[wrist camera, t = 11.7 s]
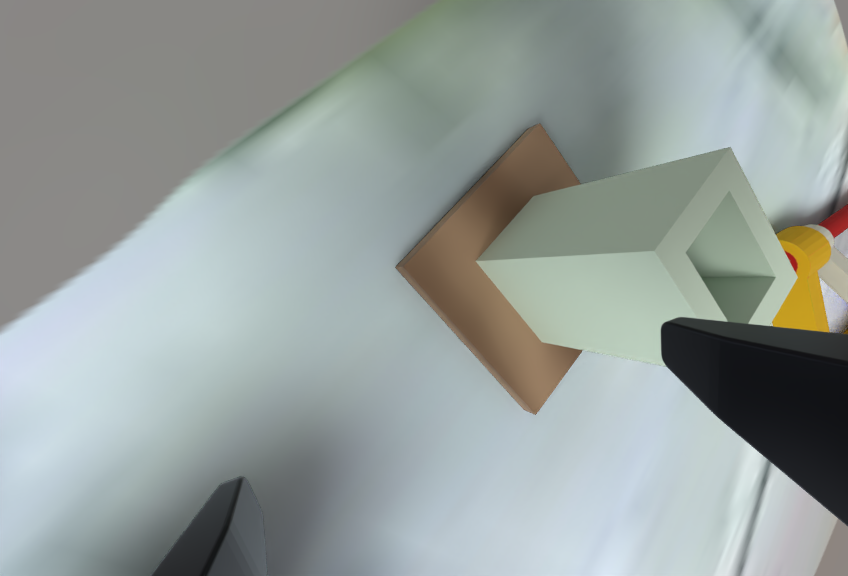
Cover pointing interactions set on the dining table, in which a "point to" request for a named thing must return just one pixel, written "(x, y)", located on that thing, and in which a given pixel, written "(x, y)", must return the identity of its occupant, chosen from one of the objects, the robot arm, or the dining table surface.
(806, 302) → the mechanical clamp
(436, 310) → the peg stand
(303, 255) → the dining table surface
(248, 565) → the robot arm
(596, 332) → the sleeve
